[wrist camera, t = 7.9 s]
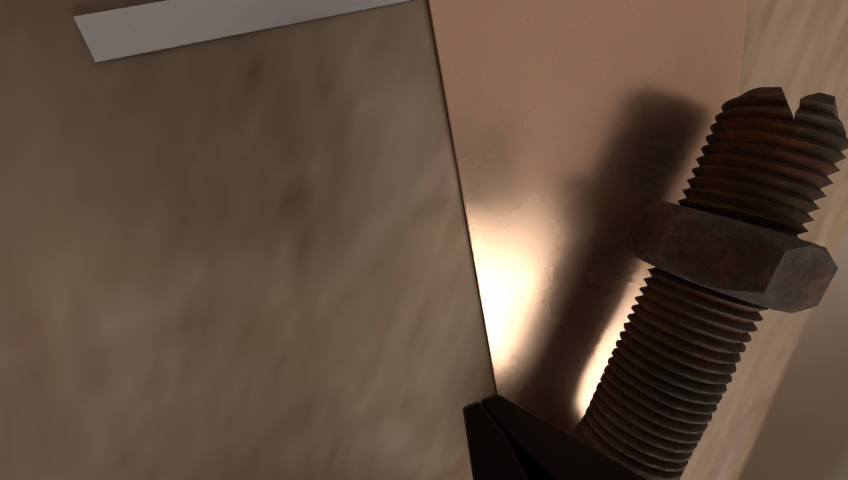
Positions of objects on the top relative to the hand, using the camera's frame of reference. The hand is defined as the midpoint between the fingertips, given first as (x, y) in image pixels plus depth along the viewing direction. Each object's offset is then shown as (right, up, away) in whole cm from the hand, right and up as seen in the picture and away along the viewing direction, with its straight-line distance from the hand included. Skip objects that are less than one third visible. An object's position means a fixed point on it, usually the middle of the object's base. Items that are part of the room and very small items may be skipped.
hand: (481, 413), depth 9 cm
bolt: (+6, +1, +6) cm, 9 cm away
